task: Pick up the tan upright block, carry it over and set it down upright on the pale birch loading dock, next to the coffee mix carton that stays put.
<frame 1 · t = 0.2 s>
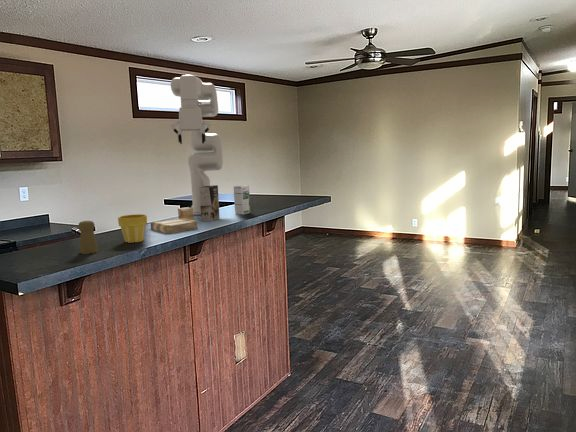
hand: (192, 143, 212), 36 cm above the table, tool pointing down, fingers open, 9 cm apart
cork: (89, 252, 167), on the table
dock: (175, 229, 206), on the table
coffee box: (210, 219, 229), on the table
plant pot: (134, 241, 183), on the table
syrup box: (242, 213, 245), on the table
tan upright block: (186, 223, 221), on the table
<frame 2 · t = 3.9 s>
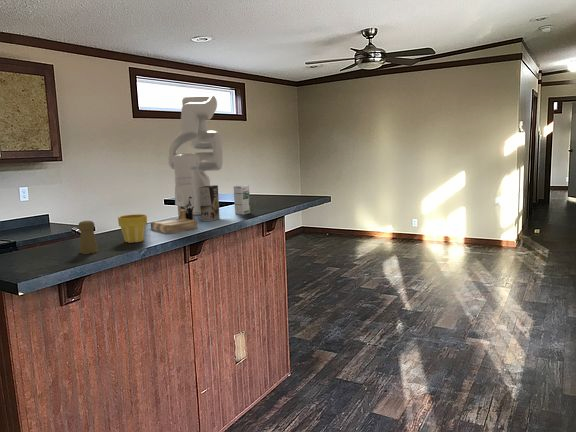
hand: (186, 220, 221), 1 cm above the table, tool pointing down, fingers closed on tan upright block, 5 cm apart
tan upright block: (186, 223, 221), on the table, touching gripper
everything else where it was.
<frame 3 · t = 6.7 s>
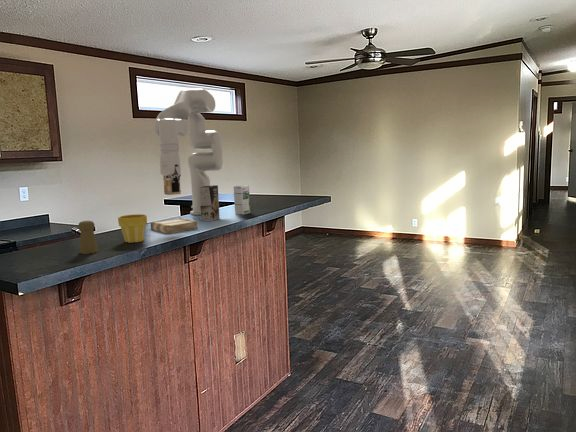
hand: (172, 191, 204), 16 cm above the table, tool pointing down, fingers closed on tan upright block, 5 cm apart
tan upright block: (172, 194, 204), point 15 cm above the table, touching gripper
everything else where it was.
when the fingers open (5 cm above the table, at t = 9.4 s): tan upright block stays where it is, resting on dock.
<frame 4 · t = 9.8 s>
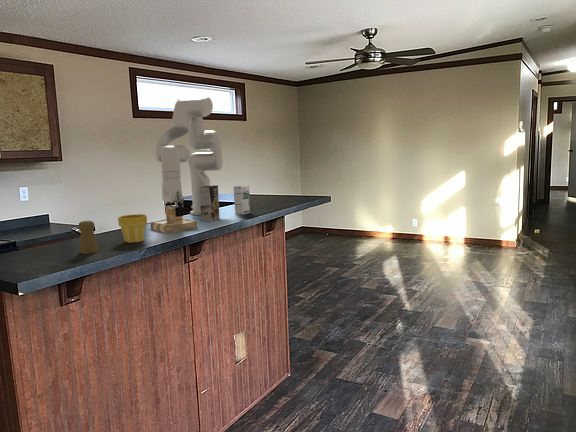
hand: (174, 215, 205), 6 cm above the table, tool pointing down, fingers open, 9 cm apart
tan upright block: (174, 222, 206), point 3 cm above the table, touching dock
everything else where it was.
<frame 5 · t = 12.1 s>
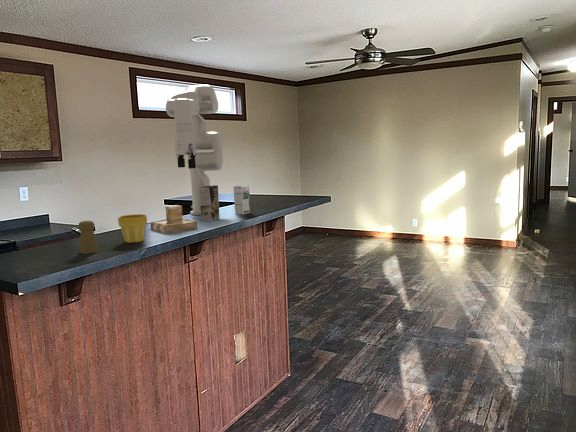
hand: (186, 167, 209), 26 cm above the table, tool pointing down, fingers open, 9 cm apart
nothing on the table moved.
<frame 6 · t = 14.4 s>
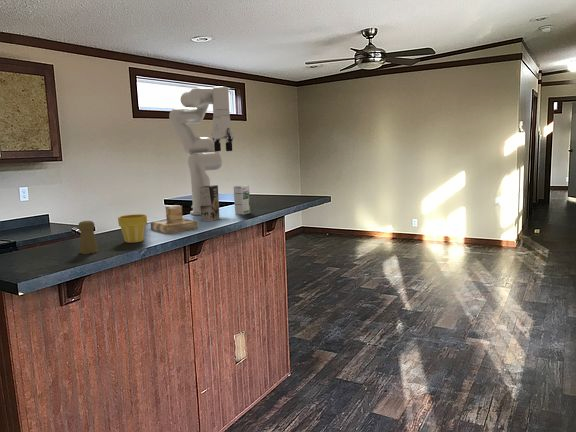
hand: (223, 151, 224), 32 cm above the table, tool pointing down, fingers open, 9 cm apart
nothing on the table moved.
at the end: tan upright block inside the target area on the dock (0.1 cm from its centre), point 3.0 cm above the dock's base; tan upright block tilted 0°; the gripper is holding nothing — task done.
